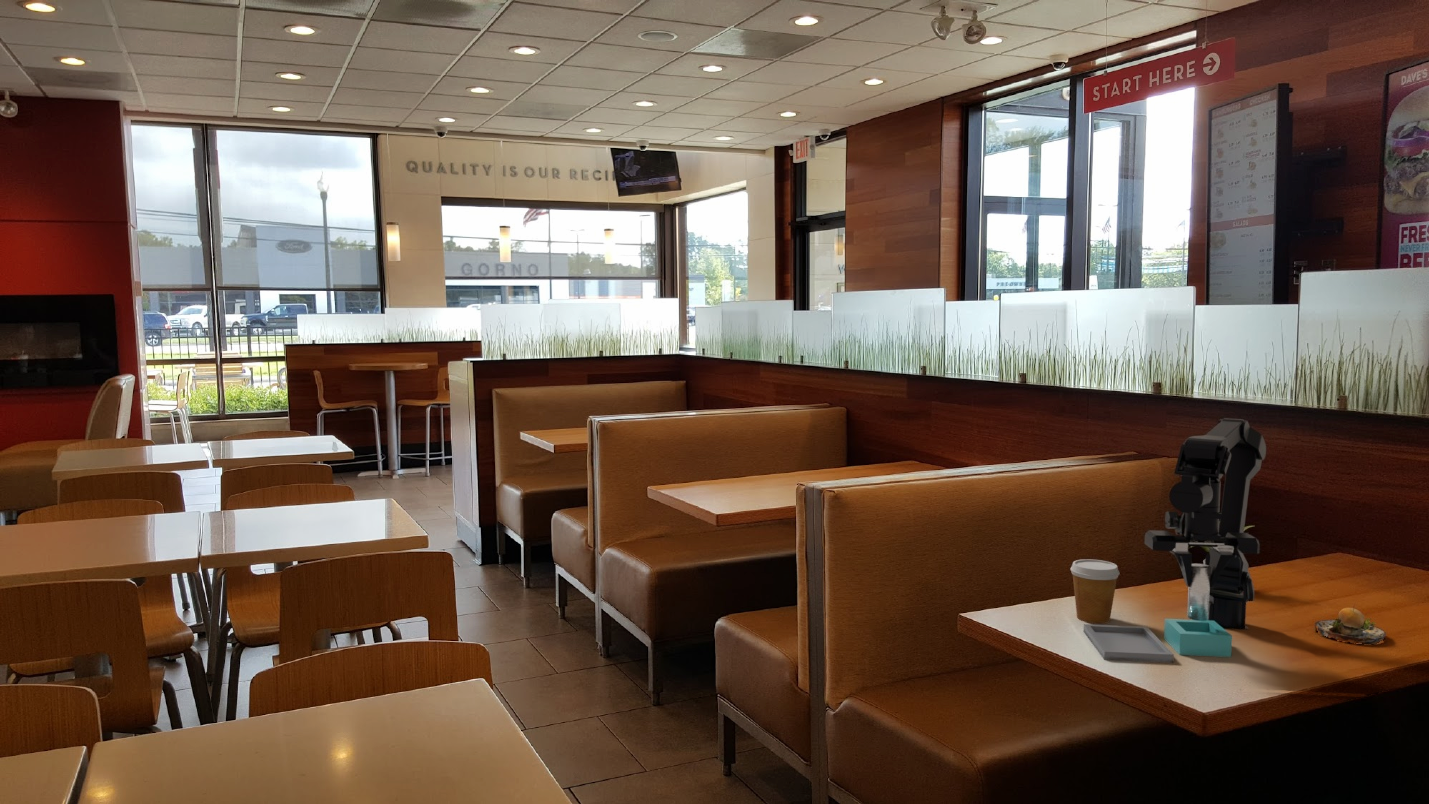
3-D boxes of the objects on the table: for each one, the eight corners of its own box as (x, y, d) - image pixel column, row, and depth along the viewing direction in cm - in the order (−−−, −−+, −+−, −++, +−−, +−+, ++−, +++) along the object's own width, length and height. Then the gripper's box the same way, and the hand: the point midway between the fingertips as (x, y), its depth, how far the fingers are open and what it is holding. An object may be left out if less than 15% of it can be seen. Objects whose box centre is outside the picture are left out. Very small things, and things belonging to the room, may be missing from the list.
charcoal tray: (1146, 636, 192) (1146, 626, 192) (1173, 665, 176) (1173, 654, 176) (1083, 634, 193) (1083, 624, 193) (1104, 662, 178) (1104, 651, 178)
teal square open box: (1212, 643, 188) (1213, 620, 187) (1230, 659, 179) (1232, 635, 179) (1163, 641, 189) (1164, 618, 189) (1179, 657, 180) (1180, 633, 180)
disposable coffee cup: (1109, 614, 206) (1111, 559, 205) (1124, 629, 197) (1126, 570, 196) (1063, 613, 207) (1065, 558, 206) (1075, 627, 198) (1077, 569, 197)
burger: (1391, 636, 192) (1393, 599, 192) (1379, 651, 184) (1382, 613, 183) (1321, 623, 201) (1323, 588, 200) (1307, 637, 192) (1309, 600, 191)
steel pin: (1204, 615, 185) (1206, 563, 184) (1211, 621, 181) (1213, 568, 180) (1184, 614, 185) (1186, 563, 184) (1191, 620, 182) (1193, 568, 181)
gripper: (1238, 498, 188) (1234, 577, 190) (1137, 496, 191) (1134, 573, 192) (1262, 509, 177) (1258, 593, 179) (1155, 506, 180) (1152, 589, 181)
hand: (1199, 586), depth 183 cm, fingers closed on steel pin, 4 cm apart
